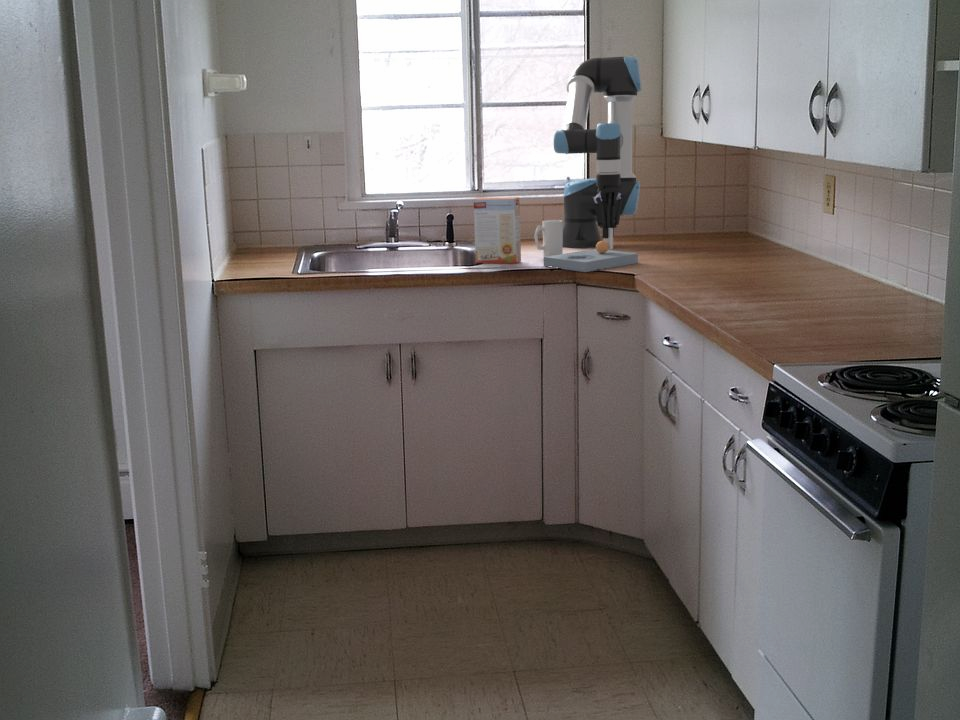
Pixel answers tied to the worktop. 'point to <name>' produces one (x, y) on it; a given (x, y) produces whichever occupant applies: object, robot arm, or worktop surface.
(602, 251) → the ball
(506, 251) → the cracker box
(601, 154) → the robot arm
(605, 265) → the tray
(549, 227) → the mug
